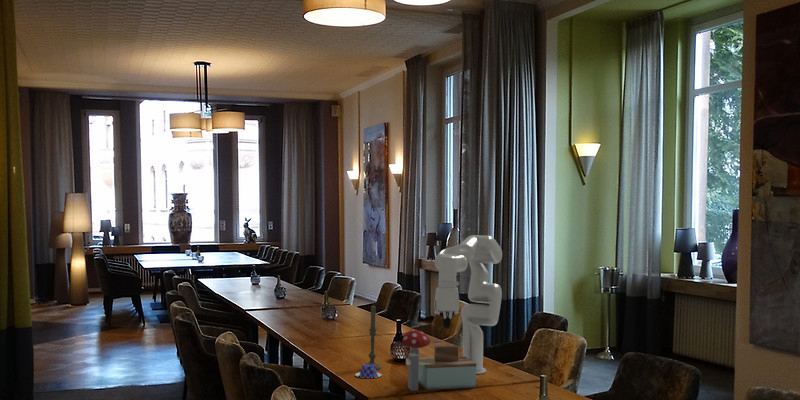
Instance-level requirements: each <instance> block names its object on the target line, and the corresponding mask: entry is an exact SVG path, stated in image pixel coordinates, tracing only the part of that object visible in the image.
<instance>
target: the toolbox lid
mask: <svg viewBox="0 0 800 400" xmlns="http://www.w3.org/2000/svg"><path fill="white" fill-rule="evenodd" d="M433 358H435V364H431V365H424V366H425V367H426V368H446V367H472V366H476V363H475V362H473V361H471V360H470V359H468V358H467V357H463V356H459V346H457V345H441V346H440V345H439V346H434V356H433Z"/></svg>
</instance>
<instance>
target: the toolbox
mask: <svg viewBox="0 0 800 400" xmlns="http://www.w3.org/2000/svg"><path fill="white" fill-rule="evenodd" d="M407 358H411V365H407V389H409V390H410V391H411V392H416V391H419V384H420V385H421V386H422V387H424V389H425V390H427V391H428V390H429V391H430V390H448V389H469V388H470V389H471V388H477V374H476V366H472V367H446V368H426V367H425V366H424V365H419V358H420V355H419V356H418V355H417V354H415V353H414V354H410V353H408V357H407Z"/></svg>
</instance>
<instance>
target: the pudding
mask: <svg viewBox="0 0 800 400" xmlns="http://www.w3.org/2000/svg"><path fill="white" fill-rule="evenodd" d="M377 375H378V377H377ZM354 376H356V377H358V378H361V379H362V378H363V379H376V378H380V377H381V376H383V374H381V373H379V372H377V370H376V368H375V365H374V364H367V363H363V364H362V365H361V368H360V372H357V373H355V375H354ZM359 376H360V377H359ZM365 377H366V378H365ZM370 377H371V378H370ZM373 377H374V378H373Z"/></svg>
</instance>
